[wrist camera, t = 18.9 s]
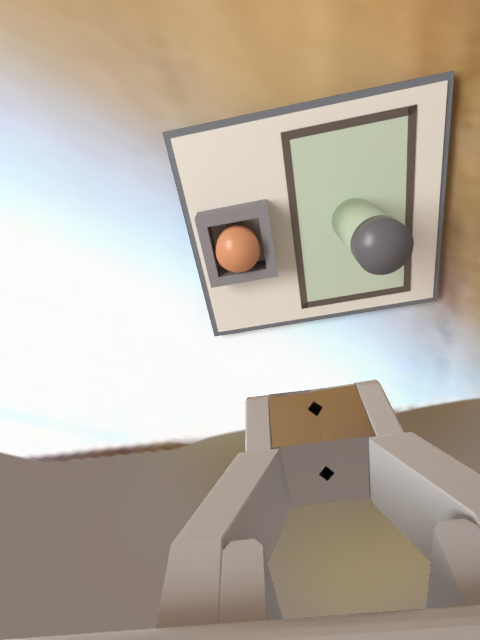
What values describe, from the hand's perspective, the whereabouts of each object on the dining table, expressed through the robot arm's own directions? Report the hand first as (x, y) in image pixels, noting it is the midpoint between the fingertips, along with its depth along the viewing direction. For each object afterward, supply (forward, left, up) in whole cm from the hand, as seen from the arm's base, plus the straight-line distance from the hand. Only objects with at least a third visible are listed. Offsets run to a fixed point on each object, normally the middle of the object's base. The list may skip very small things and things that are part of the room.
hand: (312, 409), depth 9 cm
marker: (-7, +3, -24) cm, 25 cm away
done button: (+2, +3, -23) cm, 23 cm away
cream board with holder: (-4, +3, -25) cm, 26 cm away
